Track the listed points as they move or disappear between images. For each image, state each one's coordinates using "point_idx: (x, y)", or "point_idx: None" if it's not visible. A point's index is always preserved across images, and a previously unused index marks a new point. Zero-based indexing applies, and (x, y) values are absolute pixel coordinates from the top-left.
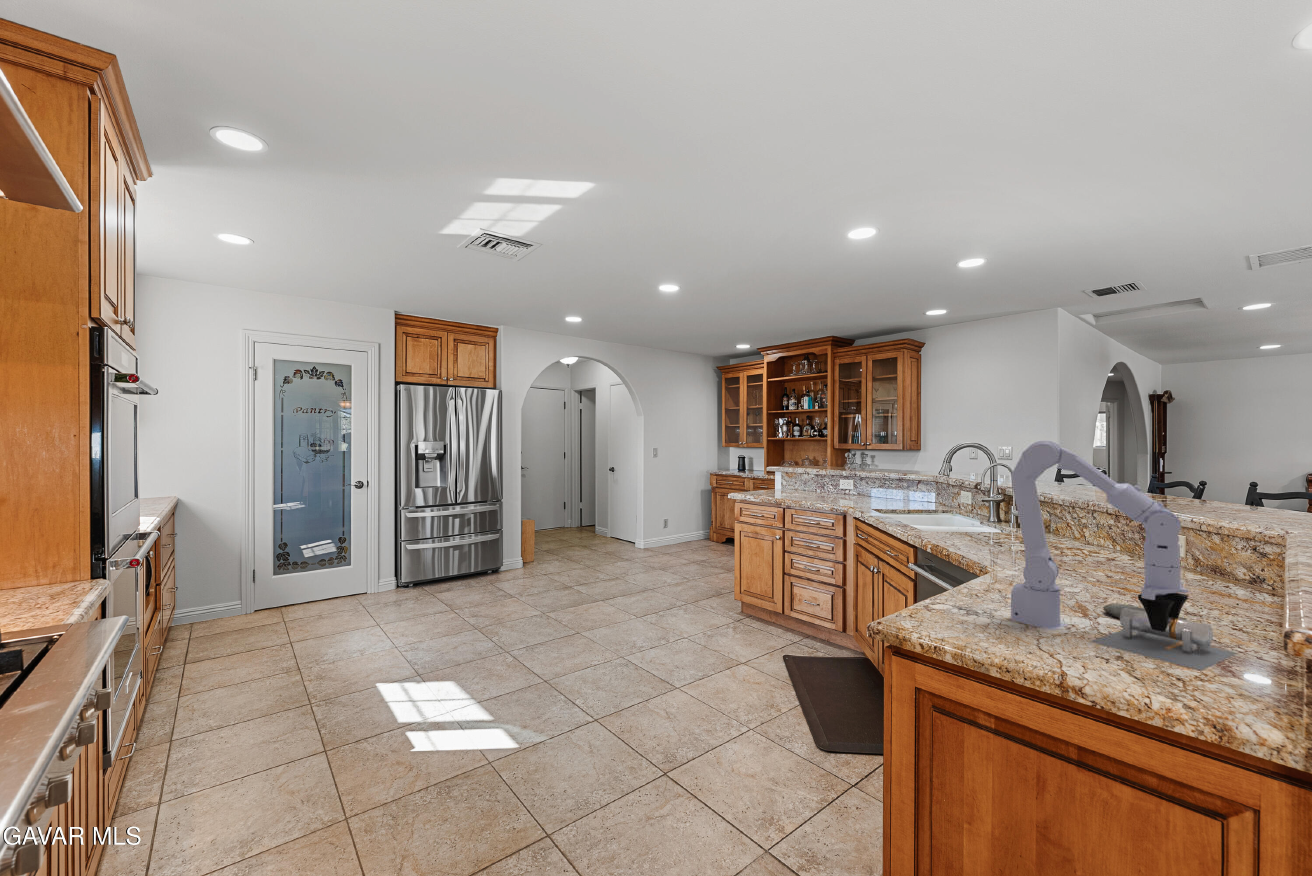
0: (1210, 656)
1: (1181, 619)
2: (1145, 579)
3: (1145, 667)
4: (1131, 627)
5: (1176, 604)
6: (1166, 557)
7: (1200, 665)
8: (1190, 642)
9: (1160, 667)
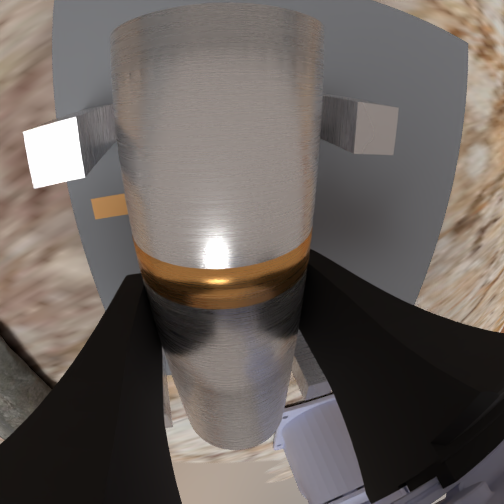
0: None
1: (233, 253)
2: None
3: (491, 158)
4: (297, 347)
5: (133, 438)
6: None
7: (430, 43)
8: (347, 97)
9: (477, 133)
